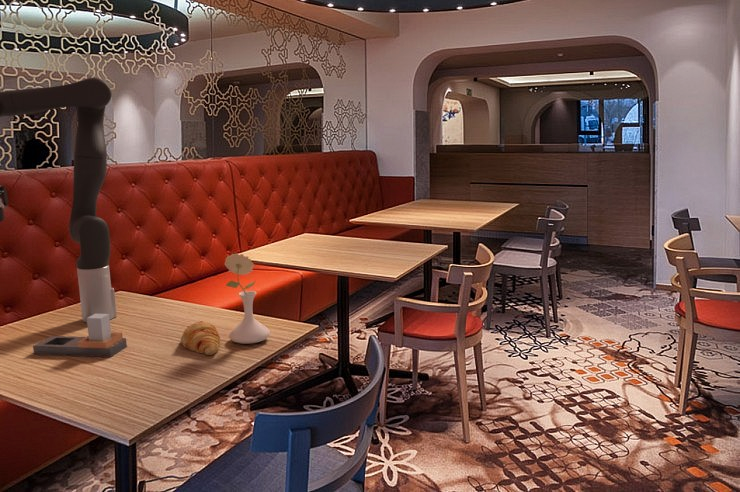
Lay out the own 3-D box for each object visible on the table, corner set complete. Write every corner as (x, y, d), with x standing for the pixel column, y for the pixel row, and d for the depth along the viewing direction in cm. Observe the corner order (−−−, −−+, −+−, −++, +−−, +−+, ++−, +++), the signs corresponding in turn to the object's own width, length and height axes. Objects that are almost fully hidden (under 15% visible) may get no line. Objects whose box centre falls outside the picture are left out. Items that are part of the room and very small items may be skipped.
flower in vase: (278, 336, 170) (274, 251, 165) (254, 349, 159) (249, 259, 155) (241, 331, 175) (236, 248, 171) (216, 343, 165) (210, 255, 160)
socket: (126, 346, 163) (125, 332, 162) (110, 357, 155) (109, 342, 155) (53, 344, 166) (51, 330, 165) (33, 354, 158) (32, 340, 157)
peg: (112, 349, 162) (109, 313, 160) (104, 354, 158) (100, 318, 156) (98, 348, 162) (95, 313, 160) (90, 353, 158) (86, 318, 156)
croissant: (224, 368, 156) (236, 340, 157) (189, 358, 151) (202, 329, 151) (199, 343, 174) (211, 318, 174) (168, 334, 168) (179, 308, 169)
